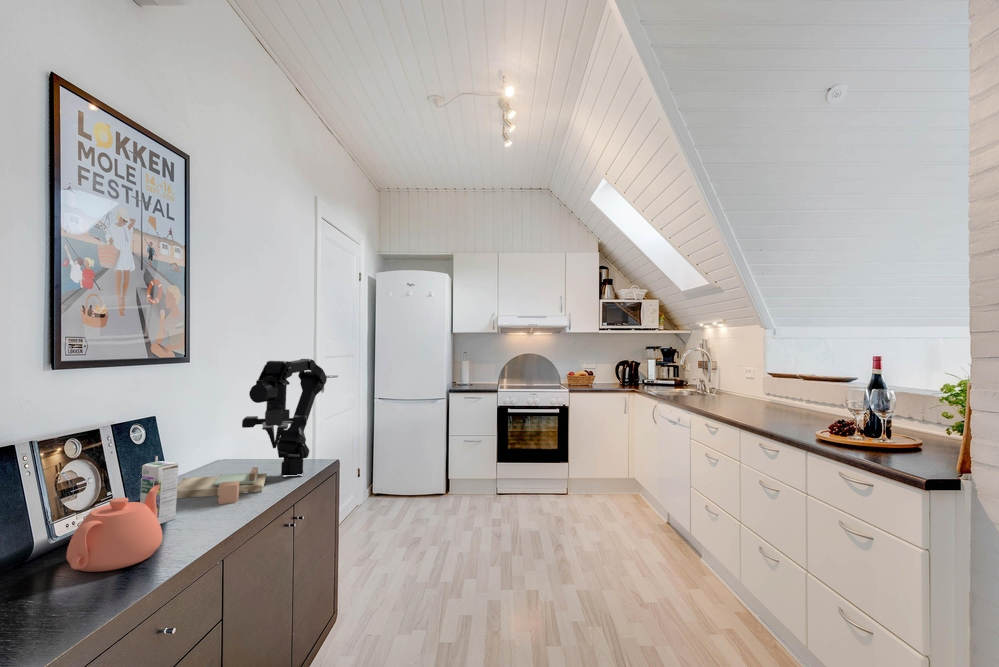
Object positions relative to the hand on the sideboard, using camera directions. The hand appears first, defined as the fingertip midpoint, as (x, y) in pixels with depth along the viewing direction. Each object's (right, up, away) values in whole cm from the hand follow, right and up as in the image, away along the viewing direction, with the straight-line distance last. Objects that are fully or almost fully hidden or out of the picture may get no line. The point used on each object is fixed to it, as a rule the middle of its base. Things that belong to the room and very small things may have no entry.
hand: (274, 448), depth 157 cm
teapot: (-7, -10, -55) cm, 57 cm away
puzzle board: (-14, -11, -6) cm, 19 cm away
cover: (-10, -9, -4) cm, 14 cm away
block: (-5, -11, -17) cm, 21 cm away
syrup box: (-14, -11, -34) cm, 38 cm away
